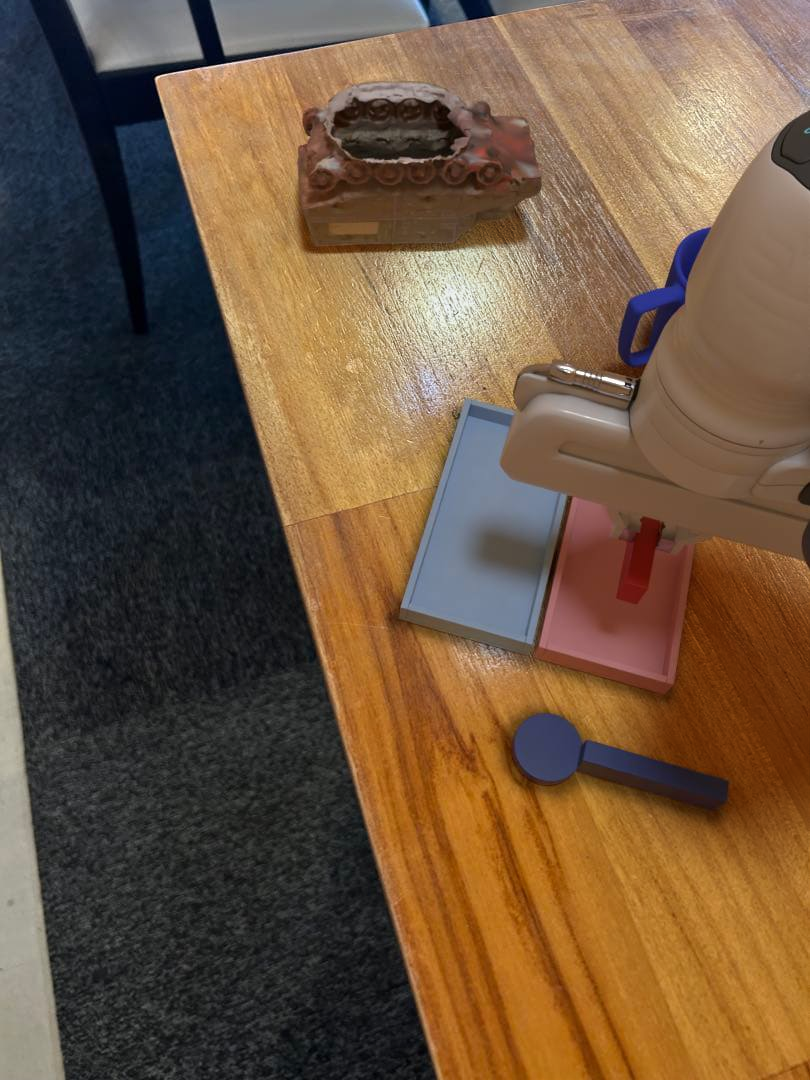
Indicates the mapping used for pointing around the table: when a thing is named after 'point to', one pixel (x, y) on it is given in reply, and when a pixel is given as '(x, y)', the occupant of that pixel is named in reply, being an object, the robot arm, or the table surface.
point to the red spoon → (638, 563)
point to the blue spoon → (606, 764)
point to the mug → (660, 301)
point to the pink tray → (612, 606)
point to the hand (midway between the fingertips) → (644, 537)
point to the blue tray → (484, 542)
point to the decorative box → (410, 165)
